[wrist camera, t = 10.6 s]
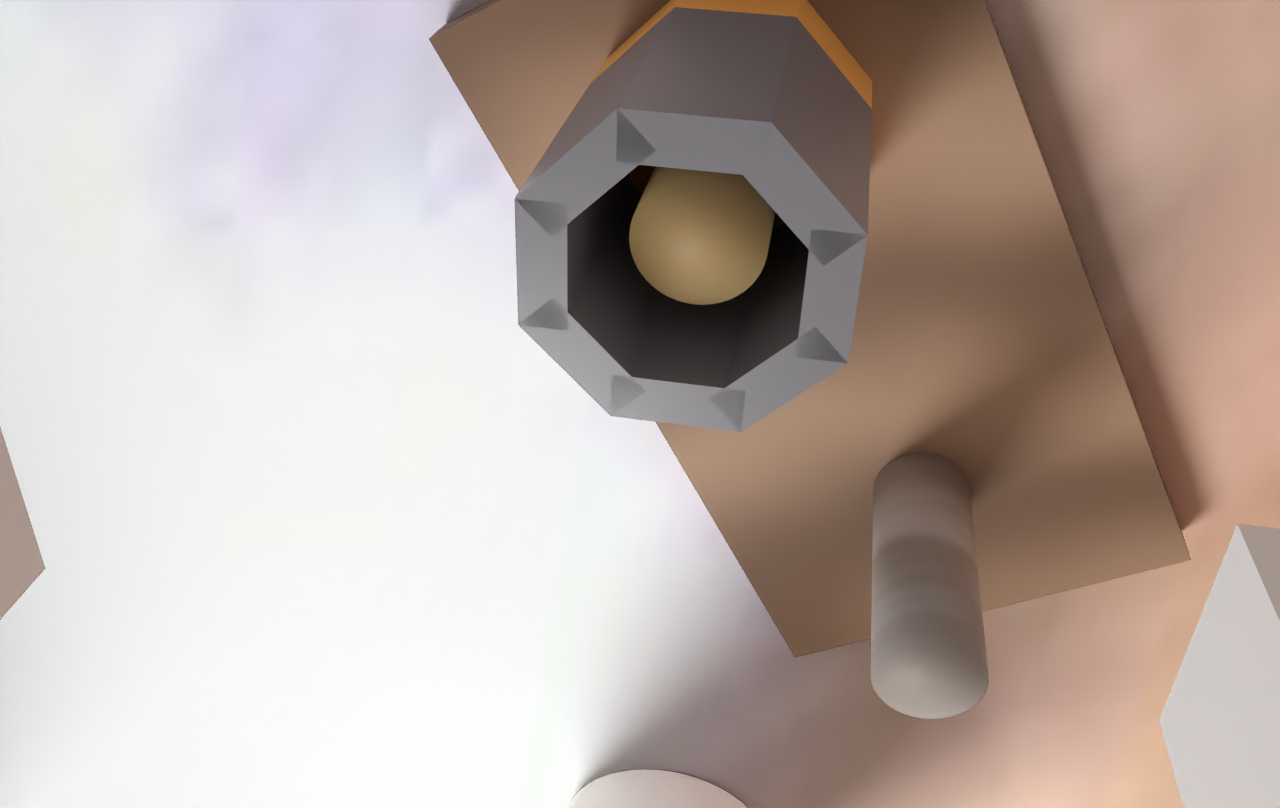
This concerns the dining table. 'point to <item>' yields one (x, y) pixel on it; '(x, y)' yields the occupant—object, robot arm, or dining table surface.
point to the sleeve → (716, 142)
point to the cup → (652, 792)
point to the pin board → (885, 349)
